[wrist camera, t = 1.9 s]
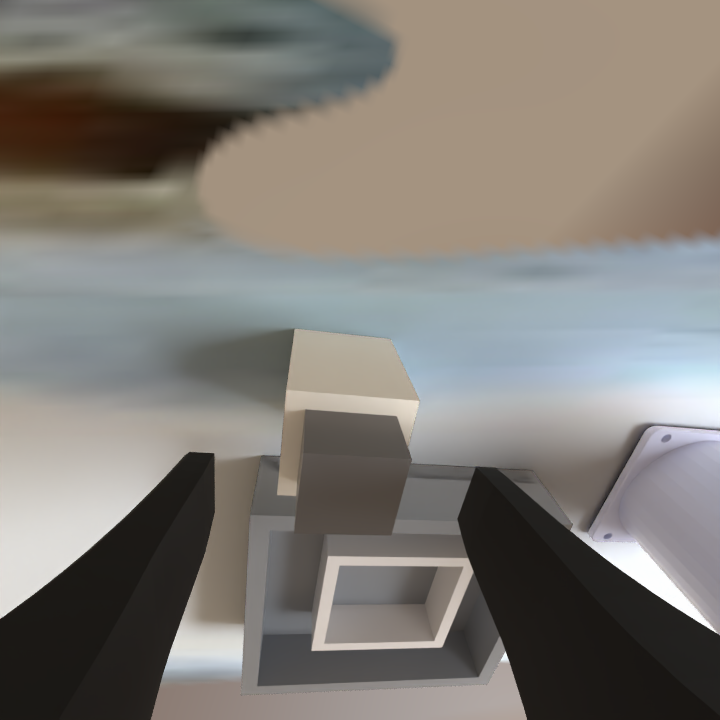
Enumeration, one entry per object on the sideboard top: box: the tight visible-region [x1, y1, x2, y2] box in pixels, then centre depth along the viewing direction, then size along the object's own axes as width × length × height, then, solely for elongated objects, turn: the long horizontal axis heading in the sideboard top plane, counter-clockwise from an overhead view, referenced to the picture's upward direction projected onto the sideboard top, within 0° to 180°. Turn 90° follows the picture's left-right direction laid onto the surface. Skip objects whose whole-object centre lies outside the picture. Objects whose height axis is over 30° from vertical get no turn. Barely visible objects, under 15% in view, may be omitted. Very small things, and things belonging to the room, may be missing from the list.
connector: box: [277, 329, 420, 536], centre depth 13 cm, size 4×4×7 cm
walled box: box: [241, 456, 573, 695], centre depth 20 cm, size 14×13×4 cm
